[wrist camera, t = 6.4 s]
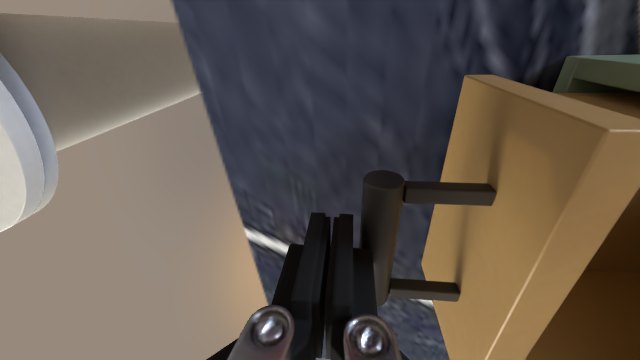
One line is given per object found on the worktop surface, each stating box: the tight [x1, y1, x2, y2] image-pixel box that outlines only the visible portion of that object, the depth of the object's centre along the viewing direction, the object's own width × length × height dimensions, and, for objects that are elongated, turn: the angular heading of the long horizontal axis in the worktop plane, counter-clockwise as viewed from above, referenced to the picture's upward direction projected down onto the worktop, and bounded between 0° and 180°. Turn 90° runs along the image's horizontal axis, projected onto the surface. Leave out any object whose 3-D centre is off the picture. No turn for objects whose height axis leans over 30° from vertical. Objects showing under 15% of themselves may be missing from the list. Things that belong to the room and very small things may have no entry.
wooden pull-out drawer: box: [359, 75, 640, 360], centre depth 10 cm, size 18×11×7 cm, turn 92°
